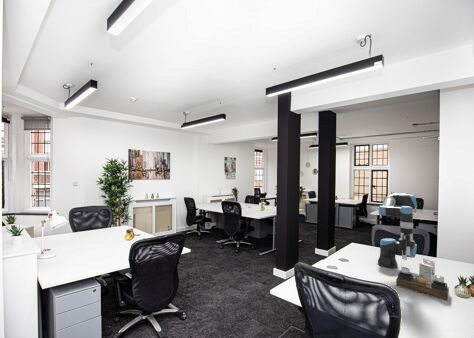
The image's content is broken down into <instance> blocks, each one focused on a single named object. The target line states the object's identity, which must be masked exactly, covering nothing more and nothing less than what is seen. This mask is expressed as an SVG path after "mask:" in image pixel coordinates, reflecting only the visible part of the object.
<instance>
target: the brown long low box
mask: <svg viewBox="0 0 474 338" xmlns="http://www.w3.org/2000/svg"><path fill="white" fill-rule="evenodd" d="M395 283H396V284H395V286H396V287H399V288H402V289H406V290H409V291H412V292H416V293H419V294H422V293H423V295H425V296H430V297H433V298H437V299H441V300H444V301H447V302H448V301H449V300H448V299H449V295H450V289H449V288H450V287H449V286H448V283H447V282H444V284H437V283H435V280H432V282H429V281H427V280H426V284H421V283H419V282H418V278H416V277H414V275H413V274H412V273H410V275H409V276H407V275H403V274H401V270H400V271H399V272H398V274H397V278H395Z"/></svg>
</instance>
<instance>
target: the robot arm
mask: <svg viewBox="0 0 474 338" xmlns="http://www.w3.org/2000/svg"><path fill="white" fill-rule="evenodd" d="M382 203H383V204H382V205H379V206H378V215H379V216H387V217H396V218H400V220H399V223H400V224H399V227H400V229H399V232H400V238H398V241H397V240H396V239H394V238H391V237H390V238H382V239H380V243H379V245H380V246H379V257H378V259H377V265H379V266H381V267H384V268H386V269H387V268H388V269H397V268H398V267H399V266H398V262H397V259H396V256H400V257H401V260H405V261H406V260H407V261H408V258H409V259H410V258H412V259H414V258H415V257H416V254H417V250H418V249H417V248H418V245H417V244H416V242H415V240H414V235H413V234H414V225H415V224H414V223H413V221H414V220H413V219H414V211H415V210H416V209H417V208H418V204H417V198H416V195H414V194H410V193H408V194H407V193H390V194H388V195H385V197H383V199H382Z"/></svg>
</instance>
